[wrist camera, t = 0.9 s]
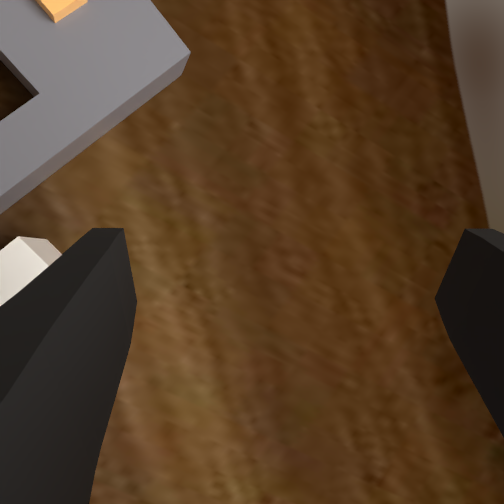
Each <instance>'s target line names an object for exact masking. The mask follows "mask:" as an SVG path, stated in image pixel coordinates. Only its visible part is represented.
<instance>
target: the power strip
mask: <svg viewBox="0 0 504 504" xmlns="http://www.w3.org/2000/svg"><path fill="white" fill-rule="evenodd" d="M190 53H191V52H190V51H189V49H188V48H187V47H186V46H185V44H184V43H183V42H182V40H181V39H180V38H179V37H178V35H177V34H176V33H175V31H174V30H173V29H172V28H171V26H170V25H169V24H168V22H167V21H166V20H165V19H164V17H163V16H162V15H161V13H160V12H159V11H158V10H157V8H156V7H155V6H154V4H153V3H152V2H151V1H150V0H0V60H1V61H2V62H3V64H4V65H5V66H6V67H7V68H8V69H9V70H10V71H11V72H12V73H13V74H14V76H15V77H16V78H17V79H18V80H19V81H20V82H21V83H22V84H23V85H24V86H25V88H26V89H27V90H28V91H29V92H30V93H31V94H32V95H33V96H34V98H32V99H31V100H29V101H28V102H27V103H25V104H24V105H22V106H21V107H20V108H18V109H17V110H15V111H14V112H12V113H11V114H10V115H8V116H7V117H5V118H4V119H2V120H1V121H0V214H1V213H3V212H4V211H5V210H6V209H8V208H9V207H10V206H12V205H13V204H14V203H16V202H17V201H18V200H19V199H21V198H22V197H23V196H25V195H26V194H27V193H29V192H30V191H31V190H32V189H34V188H35V187H36V186H38V185H39V184H40V183H42V182H43V181H44V180H45V179H47V178H48V177H49V176H51V175H52V174H53V173H55V172H56V171H57V170H58V169H60V168H61V167H62V166H64V165H65V164H66V163H68V162H69V161H70V160H71V159H73V158H74V157H75V156H77V155H78V154H79V153H81V152H82V151H83V150H84V149H86V148H87V147H88V146H90V145H91V144H92V143H94V142H95V141H96V140H98V139H99V138H100V137H101V136H103V135H104V134H105V133H107V132H108V131H109V130H111V129H112V128H113V127H114V126H116V125H117V124H118V123H120V122H121V121H122V120H124V119H125V118H126V117H127V116H129V115H130V114H131V113H133V112H134V111H135V110H137V109H138V108H139V107H140V106H142V105H143V104H144V103H146V102H147V101H148V100H150V99H151V98H152V97H153V96H155V95H156V94H157V93H159V92H160V91H161V90H163V89H164V88H165V87H166V86H168V85H169V84H170V83H172V82H173V81H174V80H176V79H177V78H178V77H179V76H181V74H182V72H183V70H184V67H185V65H186V63H187V60H188V58H189V55H190Z"/></svg>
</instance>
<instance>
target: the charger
mask: <svg viewBox="0 0 504 504" xmlns="http://www.w3.org/2000/svg"><path fill="white" fill-rule="evenodd" d="M61 255H62V254H61V253H60V252H59V251H58V250H57V249H56V248H55V247H54V246H53V245H52V244H51V243H50V242H49V241H48V240H47V239H39V238H30V237H20V236H18V237H17V238H15V239H14V240H13V241H12V242H10V243H9V244H8V245H7V246H5V247H4V248H3V249H2V250H0V306H1V305H3V304H4V303H5V302H6V301H8V300H9V299H10V298H12V297H13V296H14V295H15V294H17V293H18V292H19V291H20V290H21V289H23V288H24V287H25V286H26V285H27V284H28V283H30V282H31V281H32V280H33V279H34V278H35V277H37V276H38V275H39V274H40V273H41V272H43V271H44V270H45V269H46V268H47V267H48V266H50V265H51V264H52V263H53V262H54V261H55V260H56V259H58V258H59V257H60V256H61Z"/></svg>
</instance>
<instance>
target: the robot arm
mask: <svg viewBox="0 0 504 504" xmlns="http://www.w3.org/2000/svg"><path fill="white" fill-rule="evenodd" d="M435 300H436V303H437V306H438V309H439V312H440V315H441V318H442V321H443V323H444V326H445V328H446V331H447V333H448V336H449V338H450V340H451V342H452V344H453V346H454V348H455V350H456V352H457V353H458V355H459V357H460V359H461V361H462V363H463V364H464V366H465V368H466V370H467V372H468V374H469V375H470V377H471V379H472V381H473V383H474V384H475V386H476V388H477V390H478V392H479V393H480V395H481V397H482V399H483V401H484V403H485V404H486V406H487V408H488V410H489V412H490V413H491V415H492V417H493V419H494V421H495V422H496V424H497V426H498V428H499V430H500V431H501V433H502V435H503V437H504V234H503V233H501V232H498V231H496V230H494V229H465V230H464V232H463V234H462V237H461V239H460V241H459V244H458V246H457V248H456V250H455V253H454V255H453V257H452V260H451V262H450V264H449V267H448V269H447V271H446V274H445V276H444V278H443V280H442V283H441V285H440V287H439V290H438V292H437V294H436V297H435ZM136 305H137V299H136V293H135V288H134V283H133V277H132V272H131V267H130V261H129V256H128V251H127V245H126V240H125V234H124V229H123V228H92V229H91V230H90V231H89V232H87V233H86V234H85V235H84V236H83V237H81V238H80V239H79V240H78V241H77V242H76V243H75V244H73V245H72V246H71V247H70V248H69V249H68V250H67V251H65V252H64V253H63V254H62V255H61V256H60V257H59V258H58V259H56V260H55V261H54V262H53V263H52V264H51V265H50V266H48V267H47V268H46V269H45V270H44V271H43V272H41V273H40V274H39V275H38V276H37V277H35V278H34V279H33V280H32V281H31V282H30V283H28V284H27V285H26V286H25V287H24V288H23V289H21V290H20V291H19V292H18V293H17V294H15V295H14V296H13V297H12V298H10V299H9V300H8V301H6V302H5V303H4V304H3V305H1V306H0V504H89V501H90V495H91V490H92V485H93V480H94V474H95V470H96V466H97V462H98V457H99V453H100V449H101V445H102V442H103V439H104V435H105V432H106V428H107V425H108V421H109V418H110V414H111V411H112V407H113V404H114V401H115V397H116V394H117V390H118V387H119V383H120V380H121V376H122V373H123V369H124V366H125V362H126V359H127V355H128V351H129V348H130V344H131V338H132V332H133V326H134V319H135V312H136Z"/></svg>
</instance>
